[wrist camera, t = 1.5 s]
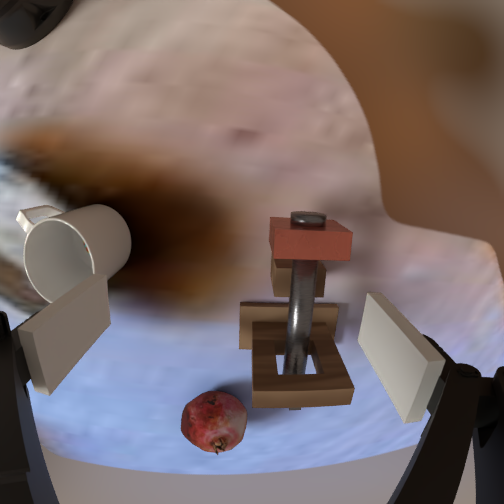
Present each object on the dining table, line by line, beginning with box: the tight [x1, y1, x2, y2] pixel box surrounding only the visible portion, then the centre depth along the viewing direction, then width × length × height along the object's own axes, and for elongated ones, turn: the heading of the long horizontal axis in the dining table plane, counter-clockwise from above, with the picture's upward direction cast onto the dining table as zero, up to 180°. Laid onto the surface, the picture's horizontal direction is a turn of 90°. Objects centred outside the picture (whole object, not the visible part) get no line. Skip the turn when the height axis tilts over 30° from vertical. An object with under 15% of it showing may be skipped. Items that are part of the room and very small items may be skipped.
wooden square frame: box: [239, 302, 355, 408], centre depth 33 cm, size 6×12×14 cm, turn 88°
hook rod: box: [269, 211, 353, 410], centre depth 31 cm, size 19×6×7 cm, turn 178°
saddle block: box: [271, 254, 326, 297], centre depth 35 cm, size 3×5×6 cm, turn 88°
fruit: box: [181, 391, 247, 455], centre depth 39 cm, size 9×10×10 cm
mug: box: [16, 204, 131, 303], centre depth 31 cm, size 12×9×11 cm
